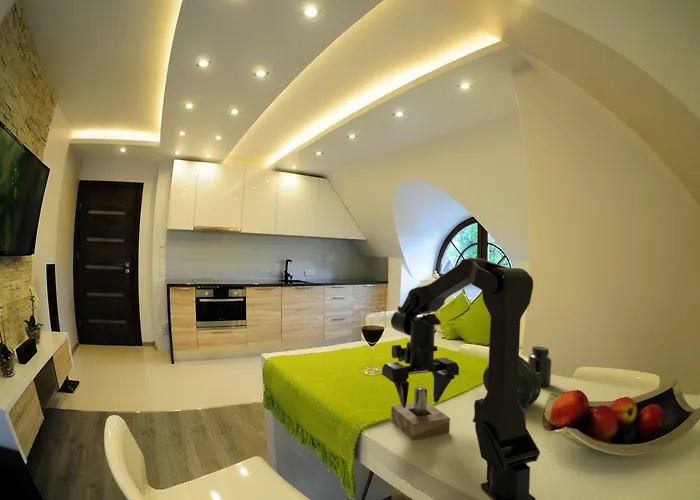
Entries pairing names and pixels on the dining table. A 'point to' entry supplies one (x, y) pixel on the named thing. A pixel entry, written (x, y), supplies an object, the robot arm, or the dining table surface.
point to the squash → (523, 383)
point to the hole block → (420, 421)
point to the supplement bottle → (541, 365)
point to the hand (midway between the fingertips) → (419, 404)
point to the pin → (420, 401)
